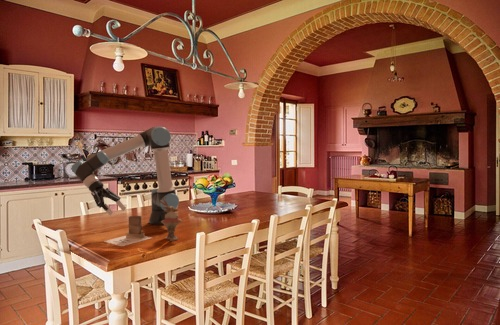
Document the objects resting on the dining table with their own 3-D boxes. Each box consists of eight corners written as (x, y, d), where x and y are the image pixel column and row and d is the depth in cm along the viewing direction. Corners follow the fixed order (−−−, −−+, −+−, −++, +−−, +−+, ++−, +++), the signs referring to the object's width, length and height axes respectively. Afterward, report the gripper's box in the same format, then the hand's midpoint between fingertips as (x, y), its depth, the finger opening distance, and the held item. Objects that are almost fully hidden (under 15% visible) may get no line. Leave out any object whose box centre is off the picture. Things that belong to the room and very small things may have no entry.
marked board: (134, 235, 203) (134, 233, 203) (152, 239, 194) (152, 237, 194) (103, 243, 187) (103, 241, 187) (121, 248, 178) (121, 246, 178)
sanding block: (129, 236, 197) (129, 215, 196) (144, 237, 195) (144, 216, 195) (126, 238, 193) (125, 216, 192) (141, 239, 191) (140, 217, 191)
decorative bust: (171, 232, 206) (171, 192, 201) (184, 239, 198) (184, 197, 192) (155, 237, 198) (154, 195, 193) (168, 245, 190) (167, 201, 184)
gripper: (102, 186, 209) (125, 211, 207) (75, 191, 185) (101, 220, 183) (110, 177, 208) (133, 203, 206) (83, 182, 183) (110, 211, 182)
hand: (118, 211), depth 195 cm, fingers open, 13 cm apart
